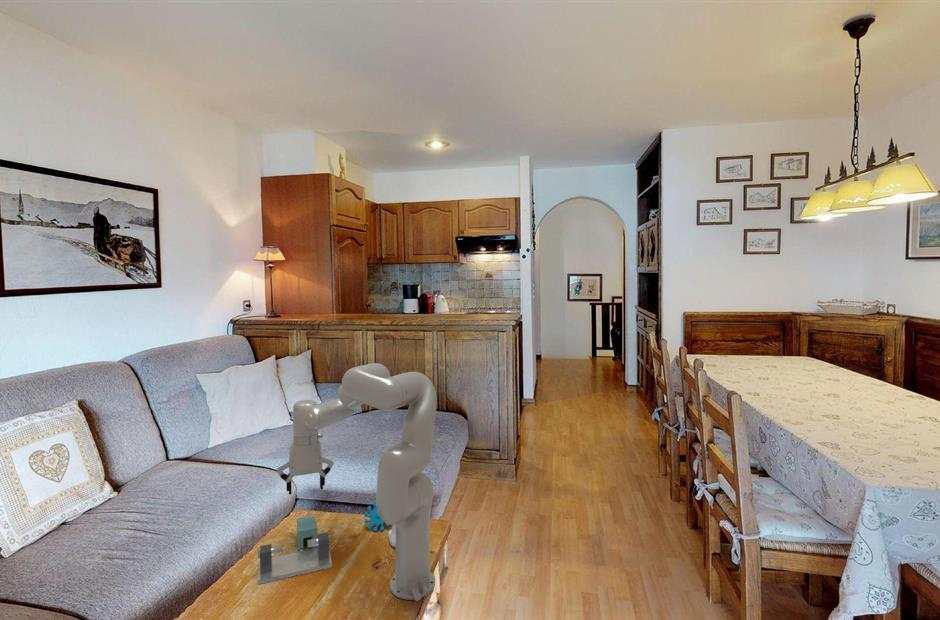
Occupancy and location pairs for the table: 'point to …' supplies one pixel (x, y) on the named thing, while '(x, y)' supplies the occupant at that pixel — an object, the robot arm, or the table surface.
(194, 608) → the table surface
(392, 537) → the seated beast figurine
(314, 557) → the shaft rig
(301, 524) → the teal block
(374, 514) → the blue lumpy piece
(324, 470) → the robot arm
